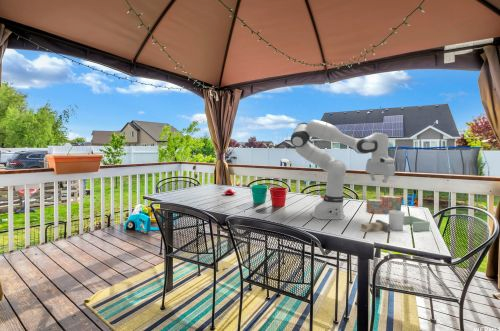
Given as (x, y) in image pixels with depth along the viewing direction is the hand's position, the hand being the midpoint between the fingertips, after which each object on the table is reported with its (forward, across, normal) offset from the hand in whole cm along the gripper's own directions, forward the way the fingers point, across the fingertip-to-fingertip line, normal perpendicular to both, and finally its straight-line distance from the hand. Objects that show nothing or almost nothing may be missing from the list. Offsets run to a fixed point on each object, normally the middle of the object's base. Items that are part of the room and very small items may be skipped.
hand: (378, 181), depth 149 cm
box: (+27, +10, +16) cm, 33 cm away
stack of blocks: (+27, -21, +23) cm, 41 cm away
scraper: (+27, +9, -11) cm, 30 cm away
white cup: (+27, +9, +5) cm, 29 cm away
